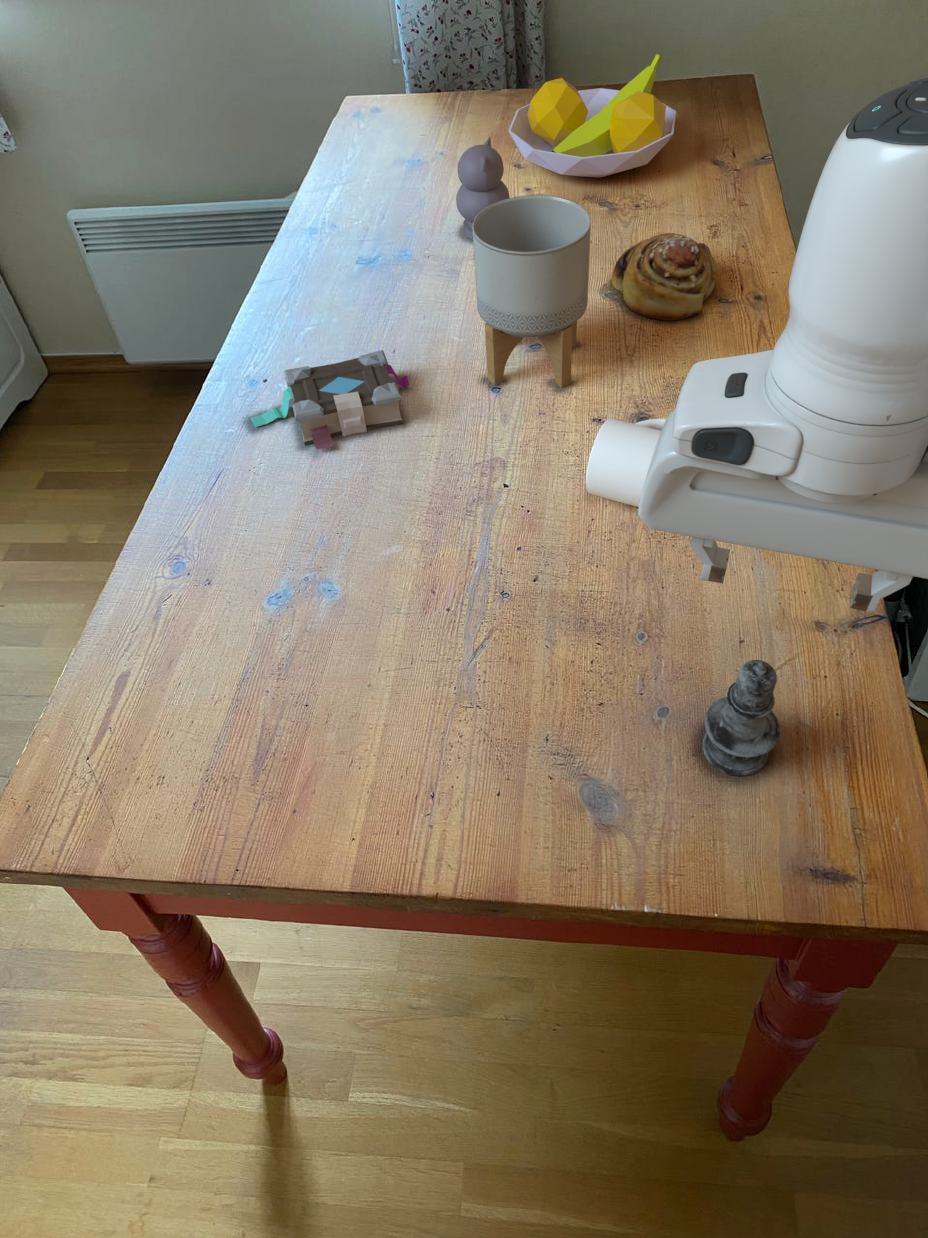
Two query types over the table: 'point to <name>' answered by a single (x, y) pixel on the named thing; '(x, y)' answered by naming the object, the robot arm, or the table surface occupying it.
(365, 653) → the table surface
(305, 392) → the book
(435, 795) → the table surface
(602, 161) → the fruit bowl
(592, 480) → the mug
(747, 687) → the chess piece
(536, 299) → the planter
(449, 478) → the table surface
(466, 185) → the grey bird figurine
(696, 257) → the pastry
